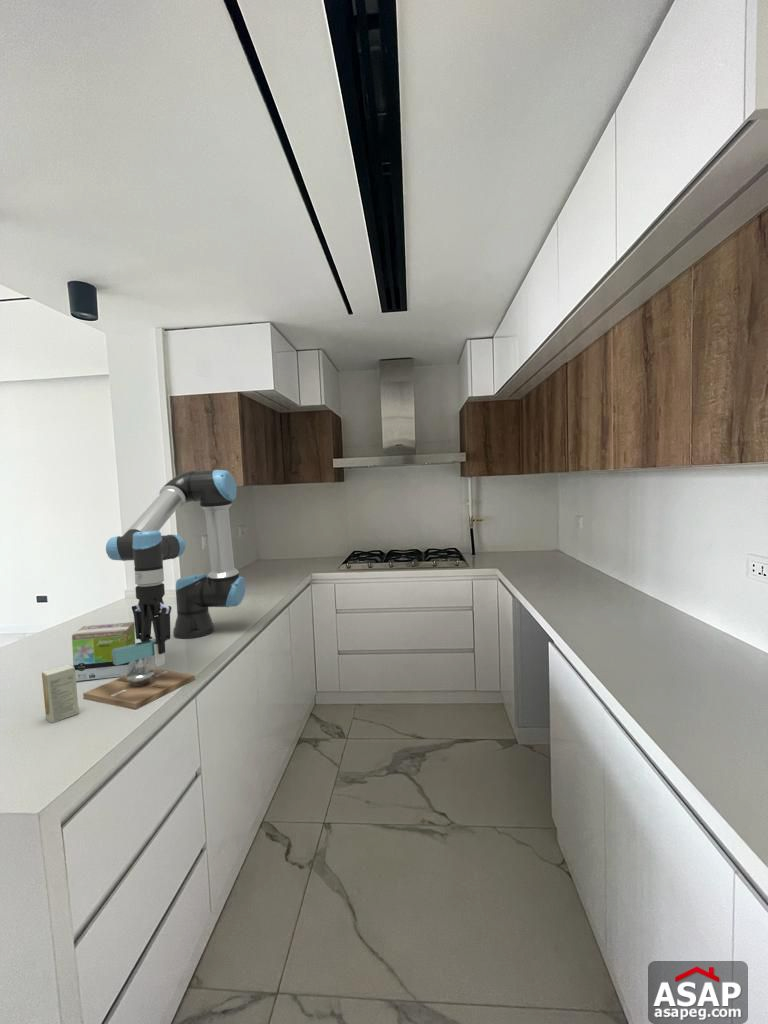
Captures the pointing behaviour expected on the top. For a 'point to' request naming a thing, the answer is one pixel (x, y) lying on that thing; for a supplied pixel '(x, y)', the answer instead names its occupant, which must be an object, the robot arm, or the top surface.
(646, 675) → the top surface
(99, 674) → the tea box
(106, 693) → the post base
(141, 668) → the teal lever handle
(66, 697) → the skincare box
